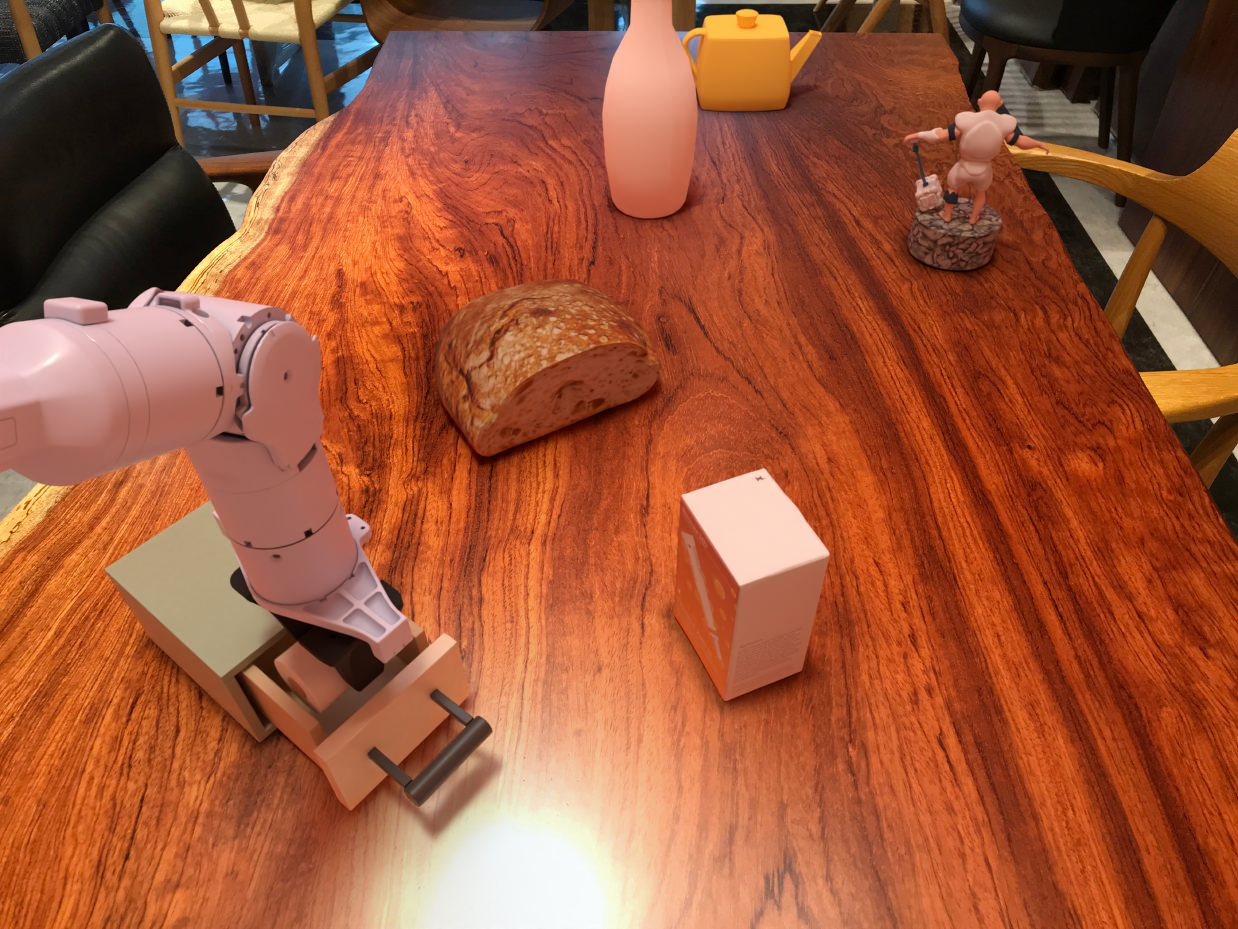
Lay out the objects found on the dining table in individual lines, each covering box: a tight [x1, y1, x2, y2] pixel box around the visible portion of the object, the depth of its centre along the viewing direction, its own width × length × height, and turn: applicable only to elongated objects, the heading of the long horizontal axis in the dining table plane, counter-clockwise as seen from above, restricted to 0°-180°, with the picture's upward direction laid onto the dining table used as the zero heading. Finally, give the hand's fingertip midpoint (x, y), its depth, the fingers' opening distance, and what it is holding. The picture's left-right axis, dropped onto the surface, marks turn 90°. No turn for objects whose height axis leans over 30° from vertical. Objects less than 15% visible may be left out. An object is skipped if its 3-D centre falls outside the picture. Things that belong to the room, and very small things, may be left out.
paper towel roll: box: [274, 642, 351, 713], centre depth 54 cm, size 4×7×4 cm
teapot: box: [681, 8, 823, 112], centre depth 128 cm, size 20×12×12 cm, turn 89°
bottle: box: [601, 0, 699, 219], centre depth 100 cm, size 11×11×25 cm
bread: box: [433, 278, 662, 457], centre depth 81 cm, size 20×18×10 cm
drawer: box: [234, 613, 494, 812], centre depth 56 cm, size 17×10×6 cm, turn 52°
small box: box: [673, 467, 831, 702], centre depth 58 cm, size 8×6×13 cm
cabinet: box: [103, 499, 373, 743], centre depth 61 cm, size 13×11×8 cm
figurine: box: [903, 90, 1050, 271], centre depth 94 cm, size 15×9×18 cm, turn 78°
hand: (342, 657), depth 54 cm, fingers closed on paper towel roll, 4 cm apart
